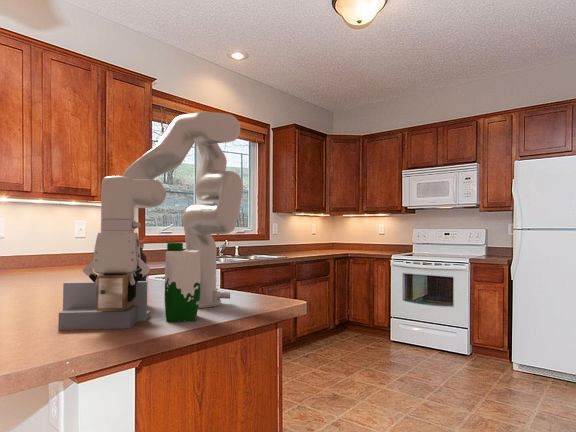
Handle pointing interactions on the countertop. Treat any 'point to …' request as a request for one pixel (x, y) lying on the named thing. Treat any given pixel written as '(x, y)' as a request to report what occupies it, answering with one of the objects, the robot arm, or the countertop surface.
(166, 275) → the milk carton
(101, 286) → the tan wooden block
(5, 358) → the countertop surface
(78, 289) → the wall board
